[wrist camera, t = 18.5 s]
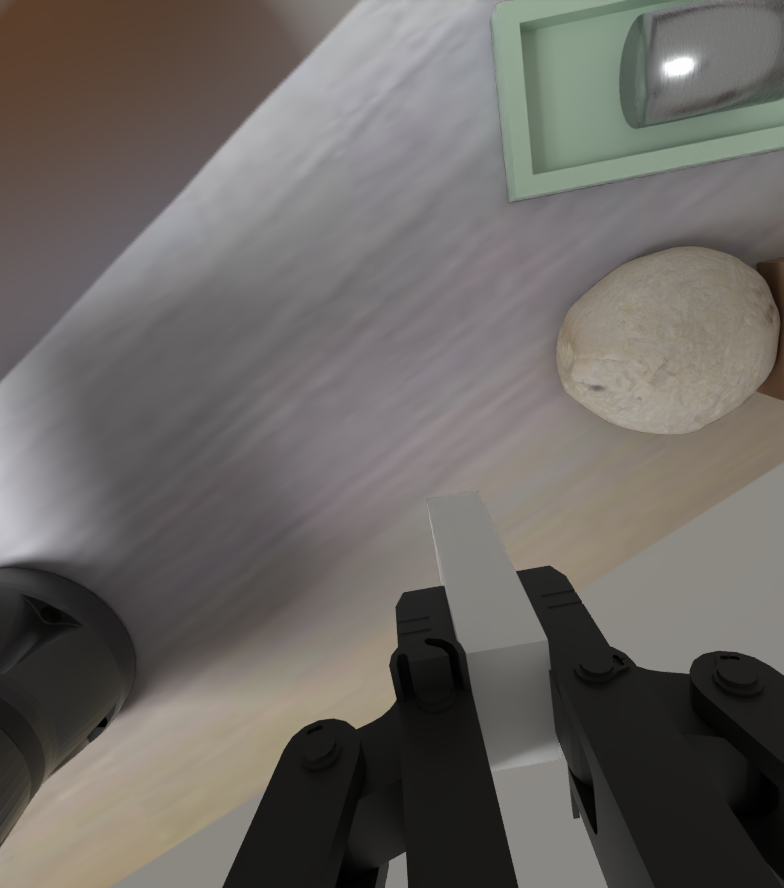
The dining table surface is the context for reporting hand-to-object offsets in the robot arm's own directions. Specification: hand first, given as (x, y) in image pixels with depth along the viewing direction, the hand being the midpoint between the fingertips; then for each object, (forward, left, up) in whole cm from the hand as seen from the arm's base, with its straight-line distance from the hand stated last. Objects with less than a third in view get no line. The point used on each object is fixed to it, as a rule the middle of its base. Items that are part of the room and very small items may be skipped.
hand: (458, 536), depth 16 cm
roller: (+17, +14, -19) cm, 29 cm away
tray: (+17, +15, -20) cm, 30 cm away
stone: (+15, 0, -20) cm, 25 cm away
